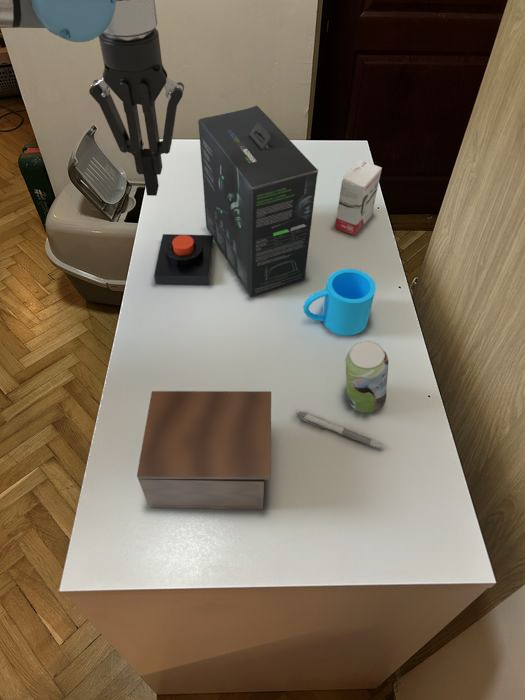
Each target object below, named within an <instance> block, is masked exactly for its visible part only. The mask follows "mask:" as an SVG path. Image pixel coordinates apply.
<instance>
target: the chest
mask: <svg viewBox="0 0 525 700" xmlns="http://www.w3.org/2000/svg"><path fill="white" fill-rule="evenodd" d="M137 480H138V483H139V485H140V489H141V490H142V493H143V496H144V499H145V500H146V504H147V506H148V508H166V509H167V508H171V509H172V508H173V509H215V510H216V509H217V510H218V509H219V510H220V509H222V510H262V511H263V510H264V491H265V479H138V478H137Z"/></svg>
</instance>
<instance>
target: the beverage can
mask: <svg viewBox="0 0 525 700" xmlns="http://www.w3.org/2000/svg"><path fill="white" fill-rule="evenodd" d="M388 375H389V356H388V353H387V352H386V351H385V349H384V348H383V347H382V346H381V345H380V344H379V343H377V342H375V341H372V340H362V341H359V342H356V343H355V344H354V345H352V347H351V348H350V349H349V350H348V352H347V354H346V356H345V378H346V379H345V380H346V381H345V382H346V383H345V384H346V399H347V402H348V404H349V406H351V408H352V409H354V410H355V411H358V412H361V413H372V412H373V413H374V412H376V411H378V410H380V409H381V408H383V406H384V405H385V403H386V401H387V391H388V377H389V376H388Z"/></svg>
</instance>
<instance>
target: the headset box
mask: <svg viewBox="0 0 525 700" xmlns="http://www.w3.org/2000/svg"><path fill="white" fill-rule="evenodd" d="M197 121H198V135H199V146H200V148H199V149H200V159H201V171H202V184H203V187H202V188H203V198H204V199H203V200H204V214H205V215H204V216H205V227H206V228H205V229H207V231H208V232H209V235H213V241H214V243H216V245H217V247H218V249H219V250H220V252H221V253H222V254H223V256H224V258H225V259H226V261H227V263H228V264H229V266H230V268H231V270H232V271H233V272H234V274H235V275H236V277H237V278H238V280H239V281H240V283H241V285H242V286H243V288H244V290H245V291H246V293H247V295H248V296H249V298H253V297H257V296H259V295H263V294H266V293H270V292H272V291H275V290H279V289H282V288H284V287H287V286H290V285H293V284H296V283H300V282H303V281H305V280H306V271H307V263H308V255H309V246H310V238H311V231H312V222H313V213H314V205H315V204H314V203H315V197H316V188H317V181H318V176H319V175H318V174H319V169H318V168H317V167H316V166H315V165H314V164H313V163H312V162H311V161H310V160H309V159H308V158H307V156H305V154H303V152H301V150H300V149H299V148H298V147H297V146H296V145H295V144H294V143H293V142H292V141H291V140H290V139H289V137H288V136H287V135H285V133H284V132H283V131H282V130H281V129H280V128H279V127H278V126H277V124H276V123H275V122H274V121H272V119H271V118H270V117H269V116H268V115H267V114H266V113H265V112H264V111H263V110H262V109H261V107H259V105H254V106H251V107H247V108H246V107H245V108H241V109H238V110H233V111H228V112H224V113H219V114H216V115H211V116H206V117H202V118H197Z"/></svg>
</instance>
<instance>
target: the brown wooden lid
mask: <svg viewBox="0 0 525 700" xmlns="http://www.w3.org/2000/svg"><path fill="white" fill-rule="evenodd" d="M271 468H272V391H268V390H267V391H265V390H263V391H261V390H260V391H259V390H257V391H255V390H254V391H253V390H252V391H249V390H248V391H246V390H245V391H243V390H242V391H237V390H234V391H232V390H231V391H230V390H229V391H224V390H223V391H220V390H219V391H218V390H217V391H215V390H214V391H213V390H212V391H211V390H207V391H206V390H204V391H203V390H202V391H201V390H199V391H198V390H197V391H195V390H194V391H193V390H192V391H189V390H183V391H181V390H174V391H173V390H155V391H154V390H151V393H150V399H149V405H148V411H147V416H146V422H145V428H144V434H143V439H142V444H141V449H140V456H139V461H138V467H137V472H136V478H137V480H138V479H264V480H267V481H268V480H271V478H272V476H271V474H272V469H271Z"/></svg>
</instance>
